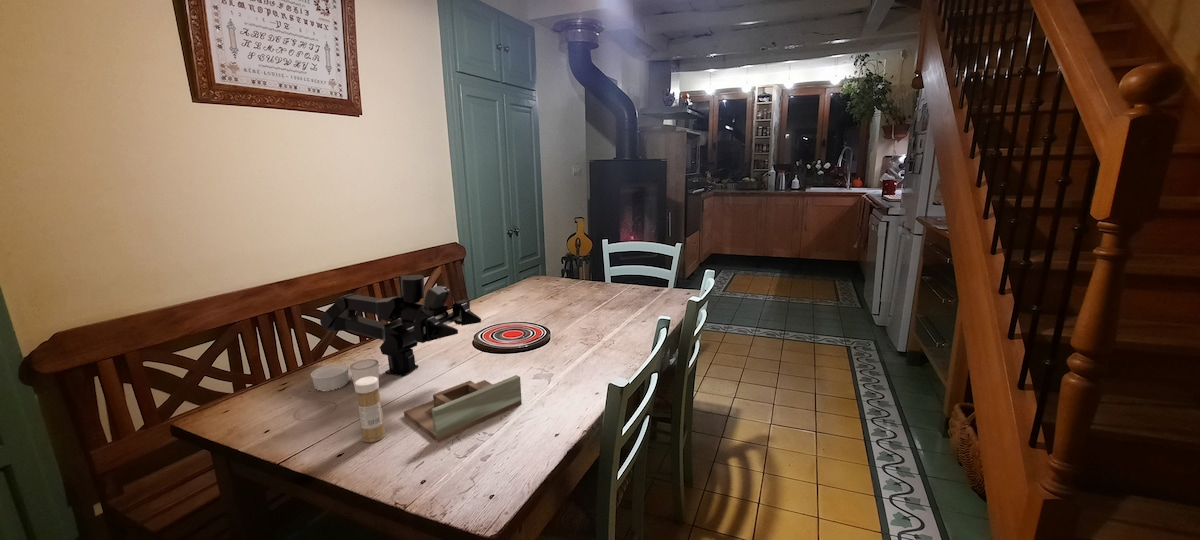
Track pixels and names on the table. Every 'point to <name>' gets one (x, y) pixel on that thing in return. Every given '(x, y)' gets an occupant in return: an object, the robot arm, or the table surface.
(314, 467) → the table surface
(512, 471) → the table surface
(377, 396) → the sprinkles bottle
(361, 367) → the shot glass
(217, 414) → the table surface
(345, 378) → the ramekin
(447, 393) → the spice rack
